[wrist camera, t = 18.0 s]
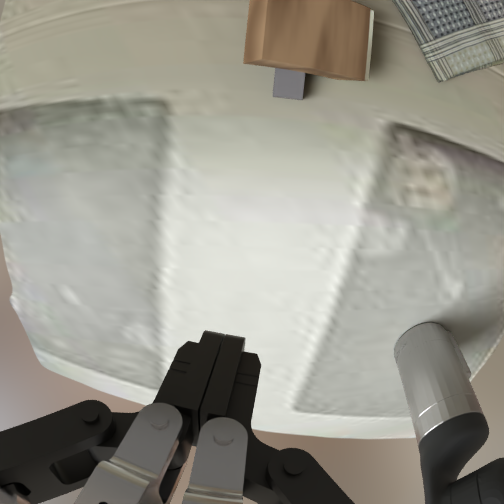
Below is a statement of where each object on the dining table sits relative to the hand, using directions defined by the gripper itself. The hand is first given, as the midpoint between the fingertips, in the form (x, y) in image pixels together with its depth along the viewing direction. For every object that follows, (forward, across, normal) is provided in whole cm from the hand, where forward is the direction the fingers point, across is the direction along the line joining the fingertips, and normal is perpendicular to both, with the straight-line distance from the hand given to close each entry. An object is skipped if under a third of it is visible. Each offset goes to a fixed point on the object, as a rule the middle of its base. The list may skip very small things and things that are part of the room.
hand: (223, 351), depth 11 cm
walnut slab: (+19, +3, -17) cm, 26 cm away
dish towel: (+27, -19, -28) cm, 44 cm away
